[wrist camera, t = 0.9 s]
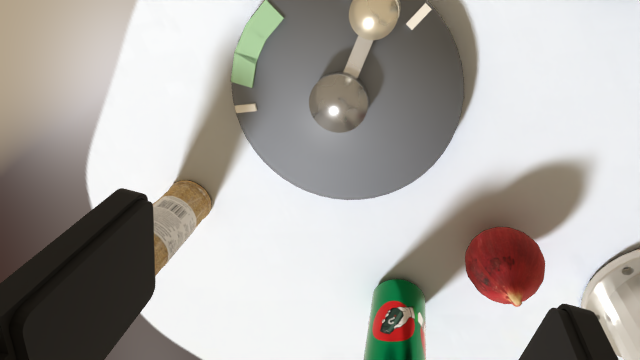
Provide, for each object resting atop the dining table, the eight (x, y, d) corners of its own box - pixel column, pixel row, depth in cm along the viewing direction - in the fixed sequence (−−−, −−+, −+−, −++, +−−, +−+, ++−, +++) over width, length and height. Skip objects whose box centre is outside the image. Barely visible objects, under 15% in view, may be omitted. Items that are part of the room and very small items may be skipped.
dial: (432, -74, 28) (432, -76, 27) (482, 167, 35) (484, 176, 33) (203, 16, 34) (193, 18, 32) (284, 208, 41) (278, 217, 39)
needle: (355, 136, 34) (348, 154, 31) (304, 113, 34) (292, 129, 31) (421, -9, 28) (421, -4, 25) (360, -35, 28) (352, -34, 25)
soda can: (363, 291, 43) (344, 396, 33) (400, 266, 41) (393, 371, 31) (397, 322, 44) (390, 434, 34) (436, 299, 42) (440, 412, 31)
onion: (452, 253, 39) (459, 317, 32) (476, 201, 36) (488, 259, 29) (516, 272, 39) (537, 341, 32) (545, 220, 36) (574, 283, 29)
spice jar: (162, 196, 43) (66, 285, 31) (186, 169, 41) (92, 253, 29) (197, 226, 44) (116, 323, 32) (222, 201, 42) (145, 295, 30)
